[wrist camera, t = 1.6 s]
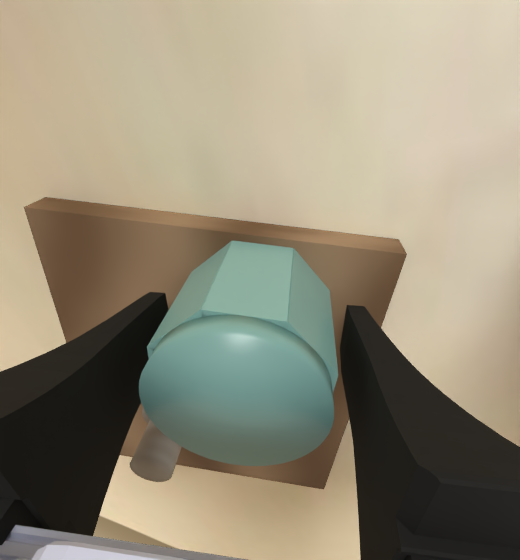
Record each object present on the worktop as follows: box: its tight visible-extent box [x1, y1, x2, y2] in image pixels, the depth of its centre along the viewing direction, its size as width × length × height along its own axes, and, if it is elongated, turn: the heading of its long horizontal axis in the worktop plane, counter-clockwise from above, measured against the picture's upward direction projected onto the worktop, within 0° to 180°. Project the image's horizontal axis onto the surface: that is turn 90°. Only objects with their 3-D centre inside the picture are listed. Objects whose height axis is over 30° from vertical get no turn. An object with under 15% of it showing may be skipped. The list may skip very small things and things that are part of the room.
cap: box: [139, 241, 338, 466], centre depth 11 cm, size 5×5×5 cm
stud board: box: [24, 197, 407, 489], centre depth 15 cm, size 14×16×4 cm
